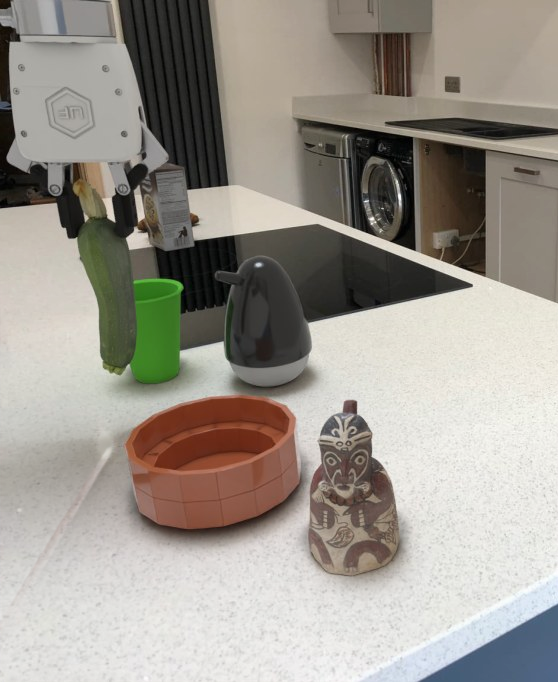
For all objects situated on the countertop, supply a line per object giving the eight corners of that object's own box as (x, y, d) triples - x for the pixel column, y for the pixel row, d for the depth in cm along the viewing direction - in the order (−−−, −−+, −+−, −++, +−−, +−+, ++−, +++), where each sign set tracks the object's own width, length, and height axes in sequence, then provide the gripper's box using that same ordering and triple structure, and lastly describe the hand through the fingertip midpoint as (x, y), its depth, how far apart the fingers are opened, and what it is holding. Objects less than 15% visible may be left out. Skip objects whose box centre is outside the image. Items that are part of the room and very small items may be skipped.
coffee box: (147, 243, 152) (134, 164, 146) (178, 238, 155) (166, 161, 150) (164, 252, 145) (151, 169, 139) (196, 246, 149) (184, 165, 143)
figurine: (296, 570, 56) (281, 431, 52) (326, 515, 63) (315, 388, 58) (387, 579, 55) (380, 438, 51) (407, 523, 62) (402, 394, 57)
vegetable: (140, 363, 78) (109, 172, 70) (154, 376, 75) (124, 177, 67) (96, 373, 75) (59, 176, 68) (109, 387, 72) (72, 182, 65)
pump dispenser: (212, 376, 90) (195, 255, 84) (289, 354, 96) (278, 240, 90) (249, 405, 82) (233, 274, 77) (330, 379, 88) (320, 257, 83)
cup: (100, 385, 87) (82, 298, 83) (151, 357, 95) (136, 276, 91) (164, 395, 85) (148, 305, 81) (210, 364, 93) (198, 281, 89)
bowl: (117, 544, 59) (103, 480, 57) (159, 454, 72) (149, 400, 70) (295, 529, 61) (288, 466, 59) (305, 444, 74) (300, 390, 72)
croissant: (141, 235, 158) (137, 212, 157) (134, 229, 164) (130, 207, 162) (204, 226, 166) (201, 204, 164) (195, 221, 171) (192, 200, 169)
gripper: (-60, 21, 58) (-10, 246, 65) (157, 25, 60) (184, 243, 67) (-17, 24, 65) (25, 227, 72) (177, 28, 67) (200, 225, 74)
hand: (101, 233), depth 70 cm, fingers closed on vegetable, 3 cm apart
